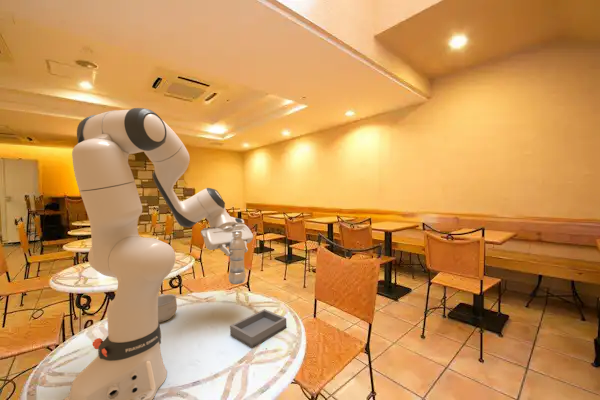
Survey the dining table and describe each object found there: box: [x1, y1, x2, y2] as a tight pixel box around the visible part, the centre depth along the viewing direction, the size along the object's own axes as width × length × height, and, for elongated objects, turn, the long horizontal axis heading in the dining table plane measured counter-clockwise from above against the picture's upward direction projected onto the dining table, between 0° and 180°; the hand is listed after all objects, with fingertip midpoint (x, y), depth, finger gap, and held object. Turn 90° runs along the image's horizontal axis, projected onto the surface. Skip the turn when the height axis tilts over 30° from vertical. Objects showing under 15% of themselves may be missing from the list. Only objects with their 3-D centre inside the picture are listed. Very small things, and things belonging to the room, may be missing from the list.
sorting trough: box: [229, 309, 287, 349], centre depth 92 cm, size 16×12×4 cm
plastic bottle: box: [228, 231, 247, 285], centre depth 98 cm, size 6×7×20 cm
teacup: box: [158, 293, 178, 323], centre depth 104 cm, size 14×11×8 cm
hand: (238, 253), depth 98 cm, fingers closed on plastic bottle, 6 cm apart
